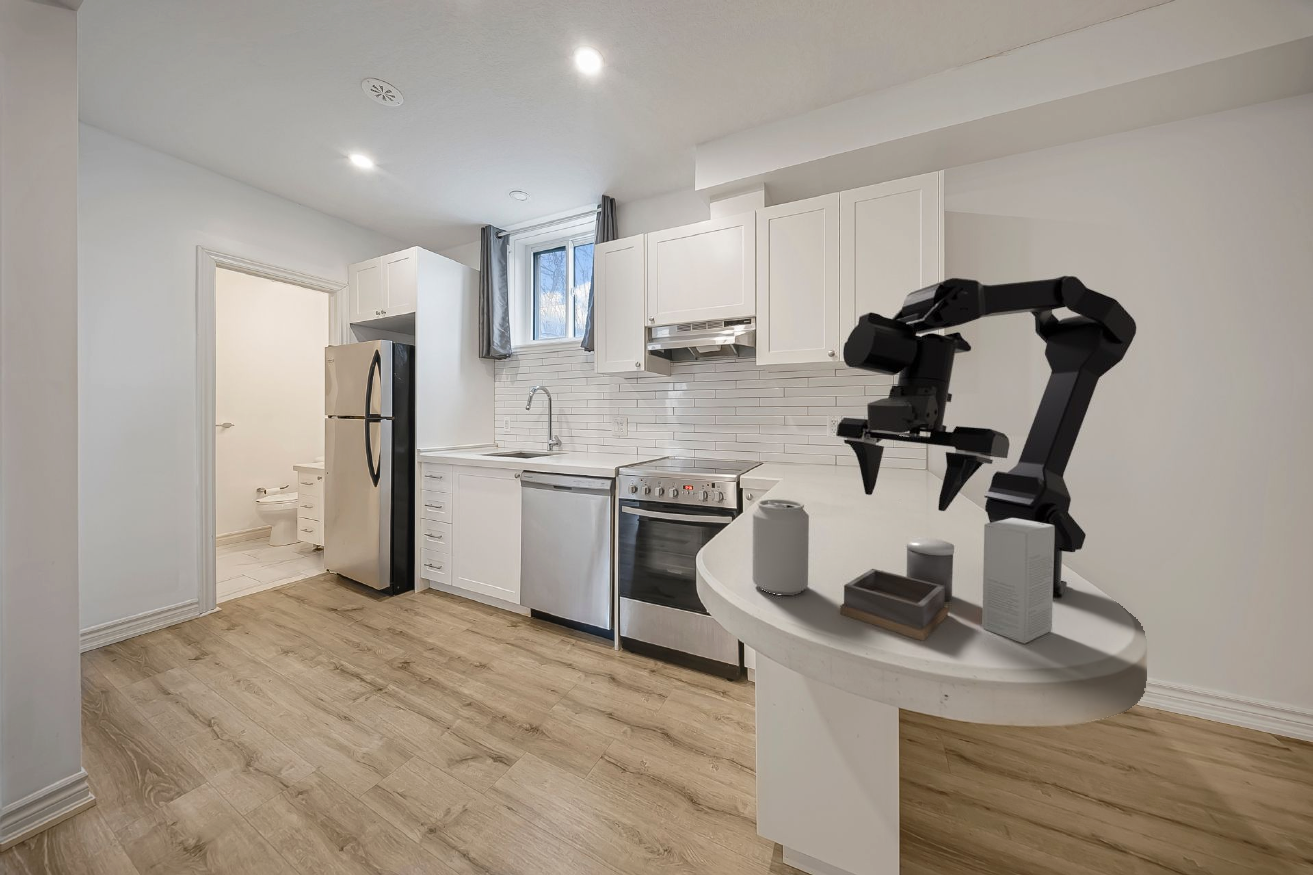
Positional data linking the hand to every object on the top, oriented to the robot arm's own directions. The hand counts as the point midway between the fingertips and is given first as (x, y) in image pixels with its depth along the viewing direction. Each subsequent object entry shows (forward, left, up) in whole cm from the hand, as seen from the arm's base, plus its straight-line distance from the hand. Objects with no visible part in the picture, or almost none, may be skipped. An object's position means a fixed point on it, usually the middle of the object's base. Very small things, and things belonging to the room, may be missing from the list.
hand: (902, 502), depth 57 cm
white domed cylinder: (-4, +2, -13) cm, 14 cm away
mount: (+5, +1, -13) cm, 14 cm away
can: (+8, -13, -13) cm, 20 cm away
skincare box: (0, +12, -13) cm, 18 cm away
